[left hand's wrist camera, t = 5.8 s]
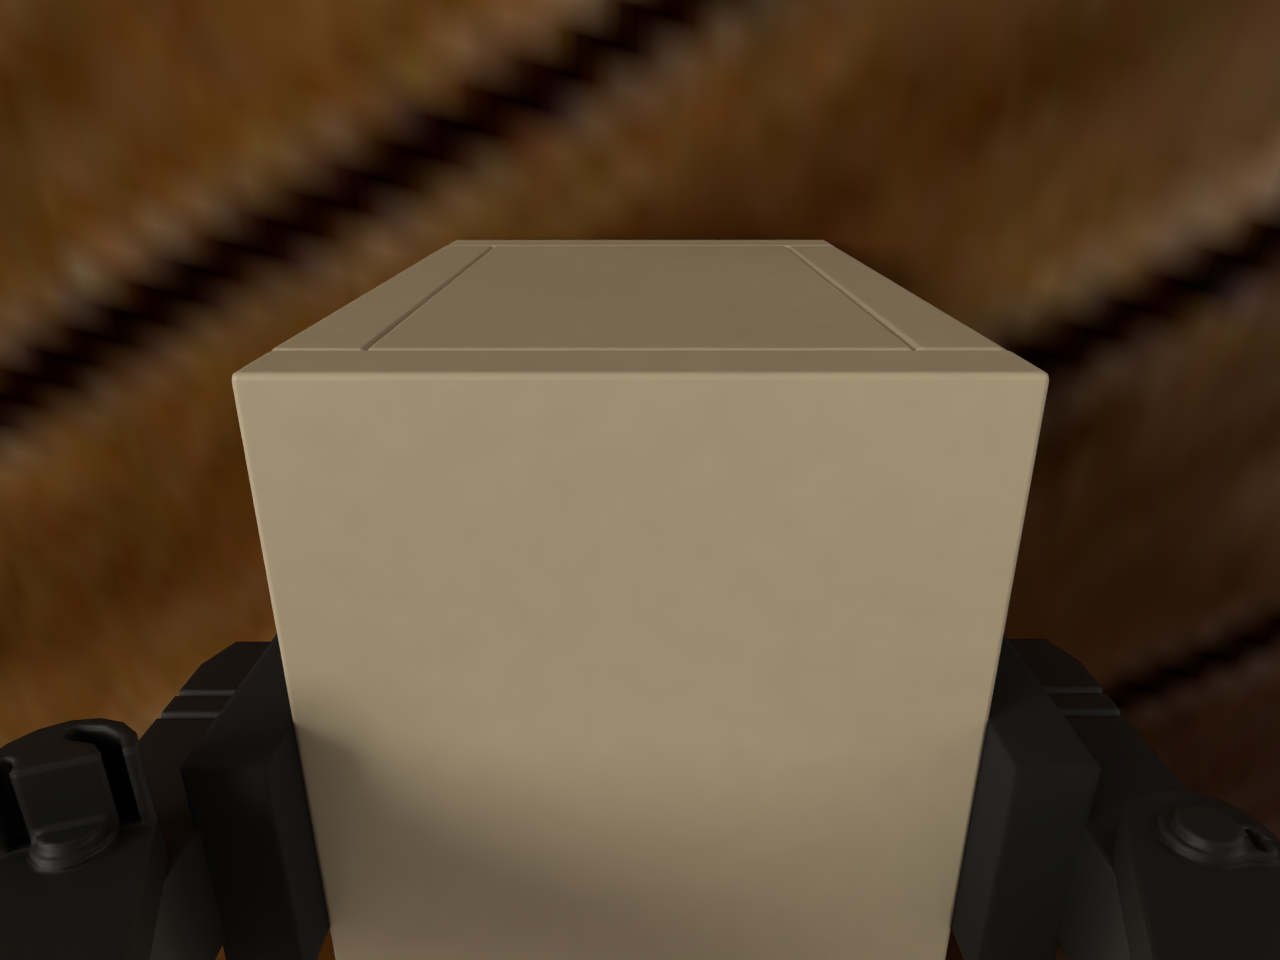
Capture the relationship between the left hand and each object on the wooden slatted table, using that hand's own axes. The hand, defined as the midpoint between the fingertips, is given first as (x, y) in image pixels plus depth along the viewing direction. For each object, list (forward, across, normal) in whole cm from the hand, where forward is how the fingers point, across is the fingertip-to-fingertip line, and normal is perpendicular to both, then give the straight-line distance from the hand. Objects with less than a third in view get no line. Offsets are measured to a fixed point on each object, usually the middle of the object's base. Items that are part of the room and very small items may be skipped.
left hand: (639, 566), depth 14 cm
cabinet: (+4, 0, -6) cm, 7 cm away
